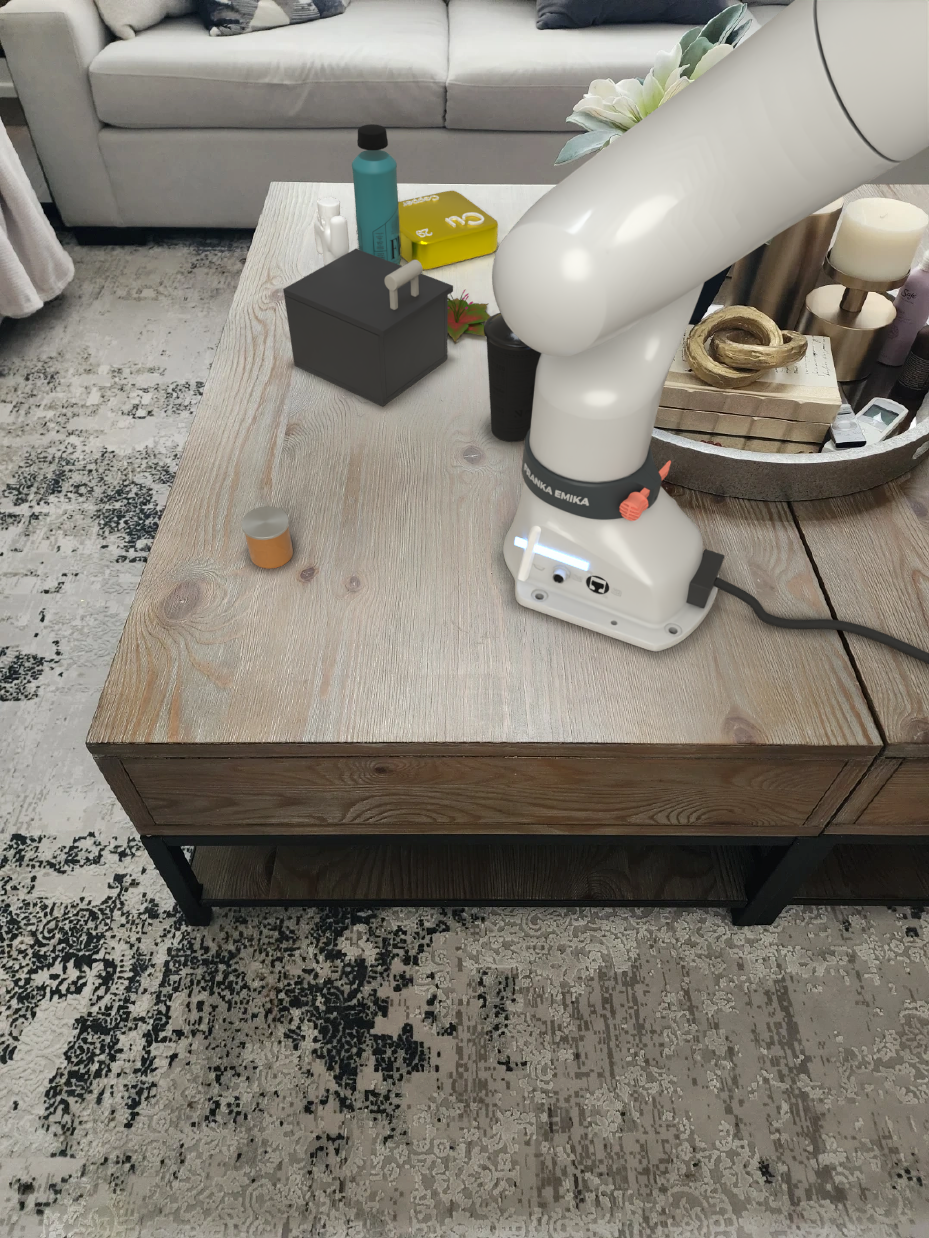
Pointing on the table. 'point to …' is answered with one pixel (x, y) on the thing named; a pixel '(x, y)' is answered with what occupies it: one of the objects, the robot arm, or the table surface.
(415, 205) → the element tile
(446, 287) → the lid
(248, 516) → the coffee pod
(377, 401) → the black tray bin
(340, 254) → the figurine
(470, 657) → the table surface
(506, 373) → the drinking cup
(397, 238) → the beverage bottle
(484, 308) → the lily flower
